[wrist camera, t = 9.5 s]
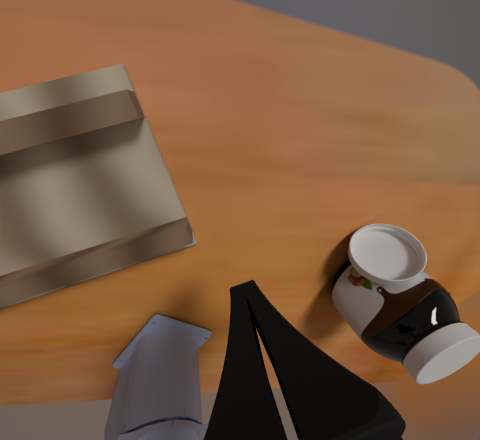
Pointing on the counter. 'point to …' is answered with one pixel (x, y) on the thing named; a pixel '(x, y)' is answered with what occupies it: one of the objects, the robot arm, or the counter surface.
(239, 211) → the counter surface
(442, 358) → the spread jar
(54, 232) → the channel
